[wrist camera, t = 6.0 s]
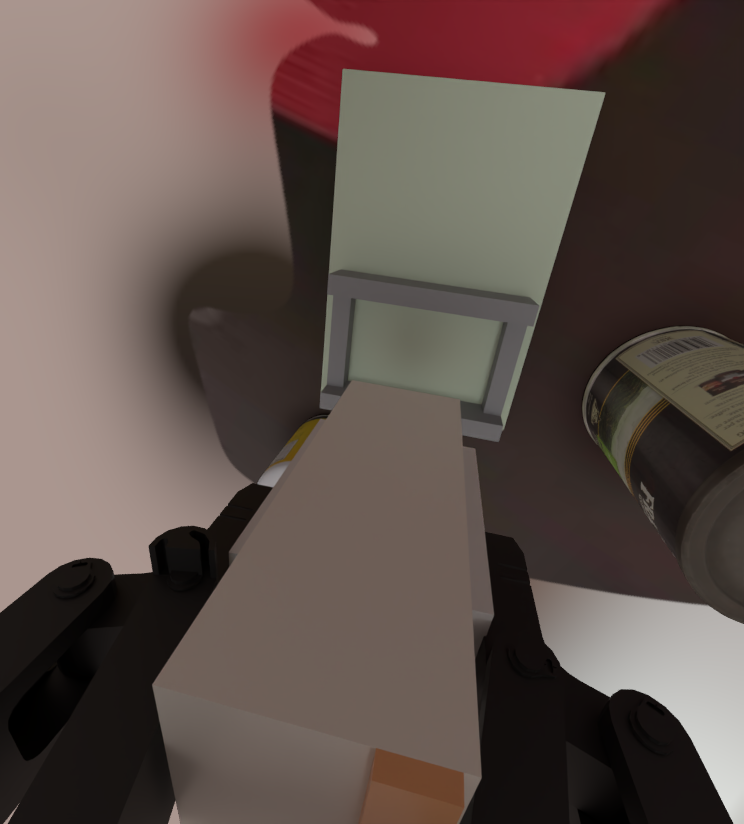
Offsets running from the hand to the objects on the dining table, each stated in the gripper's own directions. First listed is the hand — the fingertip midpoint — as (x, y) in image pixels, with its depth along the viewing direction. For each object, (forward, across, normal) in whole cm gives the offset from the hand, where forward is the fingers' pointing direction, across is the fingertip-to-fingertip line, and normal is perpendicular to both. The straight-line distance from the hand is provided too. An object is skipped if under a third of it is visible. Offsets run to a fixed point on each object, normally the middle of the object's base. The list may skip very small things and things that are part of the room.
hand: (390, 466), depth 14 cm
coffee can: (+17, +17, -1) cm, 24 cm away
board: (+16, 0, +5) cm, 17 cm away
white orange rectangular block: (+1, 0, 0) cm, 1 cm away
